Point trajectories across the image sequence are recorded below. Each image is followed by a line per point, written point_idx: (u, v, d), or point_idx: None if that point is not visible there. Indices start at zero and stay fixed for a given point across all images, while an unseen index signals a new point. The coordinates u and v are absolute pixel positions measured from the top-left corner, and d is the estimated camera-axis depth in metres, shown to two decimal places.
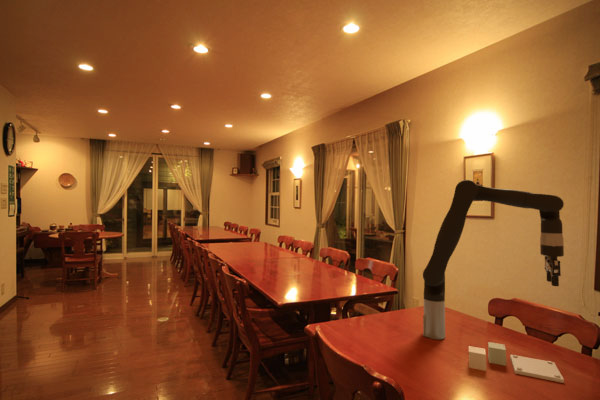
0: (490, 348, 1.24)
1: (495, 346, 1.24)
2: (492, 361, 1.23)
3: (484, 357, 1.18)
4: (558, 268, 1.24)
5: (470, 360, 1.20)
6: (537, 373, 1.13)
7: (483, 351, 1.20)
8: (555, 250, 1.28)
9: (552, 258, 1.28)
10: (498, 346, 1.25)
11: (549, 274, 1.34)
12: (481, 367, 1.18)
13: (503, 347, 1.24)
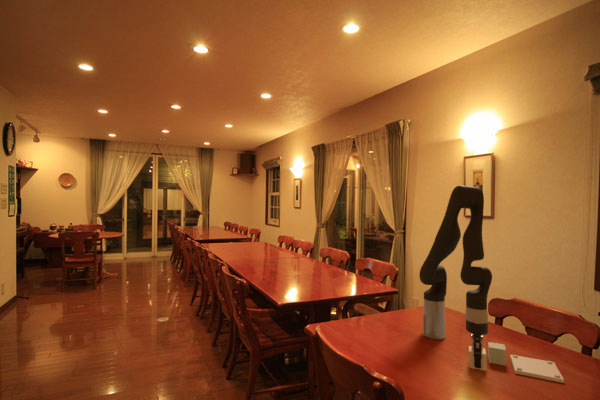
0: (490, 348, 1.24)
1: (495, 346, 1.24)
2: (492, 361, 1.23)
3: (484, 357, 1.18)
4: (479, 351, 1.16)
5: (470, 360, 1.20)
6: (537, 373, 1.13)
7: (483, 351, 1.20)
8: (478, 328, 1.18)
9: (475, 336, 1.19)
10: (498, 346, 1.25)
11: None
12: (481, 367, 1.18)
13: (503, 347, 1.24)
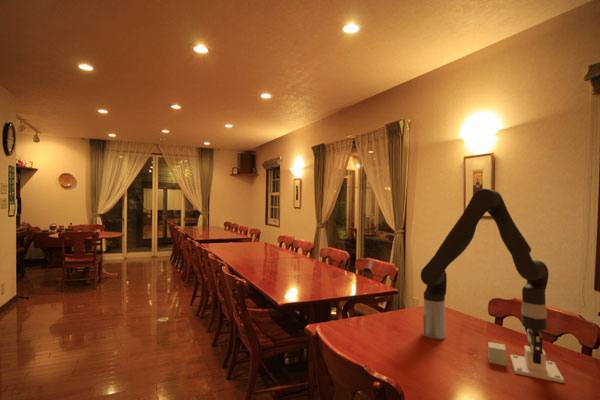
0: (490, 348, 1.24)
1: (495, 346, 1.24)
2: (492, 361, 1.23)
3: (544, 357, 1.15)
4: (540, 345, 1.13)
5: (528, 360, 1.17)
6: (537, 373, 1.13)
7: None
8: (537, 324, 1.16)
9: (534, 332, 1.16)
10: (498, 346, 1.25)
11: (532, 346, 1.22)
12: (541, 367, 1.16)
13: (503, 347, 1.24)
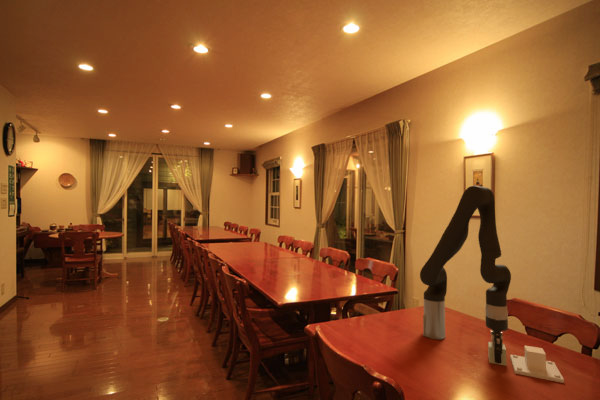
0: (490, 348, 1.24)
1: None
2: (492, 361, 1.23)
3: (544, 357, 1.15)
4: (500, 347, 1.19)
5: (528, 360, 1.17)
6: (537, 373, 1.13)
7: (541, 350, 1.18)
8: (498, 324, 1.22)
9: (495, 332, 1.22)
10: None
11: None
12: (541, 367, 1.16)
13: (503, 347, 1.24)
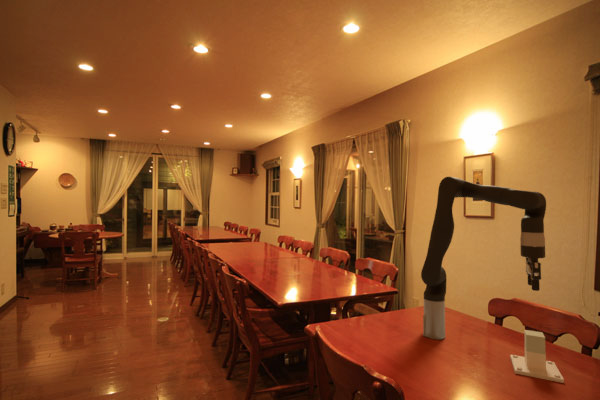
0: (528, 336, 1.18)
1: (532, 334, 1.18)
2: (530, 349, 1.17)
3: (544, 357, 1.15)
4: (538, 271, 1.13)
5: (528, 360, 1.17)
6: (537, 373, 1.13)
7: None
8: (535, 251, 1.17)
9: (532, 260, 1.17)
10: (536, 333, 1.19)
11: (530, 277, 1.23)
12: (541, 367, 1.16)
13: (541, 335, 1.17)
